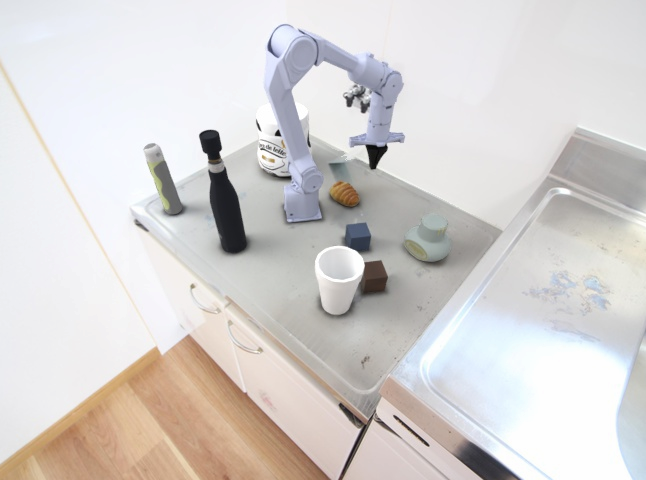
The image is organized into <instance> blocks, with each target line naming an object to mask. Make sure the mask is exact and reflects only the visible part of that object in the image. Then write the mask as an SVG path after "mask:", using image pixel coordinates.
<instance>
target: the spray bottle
mask: <svg viewBox="0 0 646 480" xmlns="http://www.w3.org/2000/svg"><path fill="white" fill-rule="evenodd" d="M142 149H143V150H142V151H143V153H144V157H145V161H146V164H147V167H148V169H149V173H150V175H151V176H152V178H153V181H154V185H155V188H156V191H157V193H158V196H159V199H160V200H161V203H162V207H163V209H164V211H165V213H166V214H168V215H176V214H179V213H180V212H181V211H182V210H183V204H182V201H181V199H180V196H179V193H178V189H177V188H176V185H175V182H174V179H173V177H172V175H171V170H170V168H169V166H168V163H167V161H166V158H165V156H164V153H163V151H162V148H161V146H160V145H159V144H158V143H155V142H150V143H147V145H145V146H144V147H143V148H142Z"/></svg>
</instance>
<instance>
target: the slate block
mask: <svg viewBox="0 0 646 480" xmlns="http://www.w3.org/2000/svg"><path fill="white" fill-rule="evenodd" d="M345 225H346V226H345V234H344V235H345V236H344V240H345V243H346V247H348V248H350V249H353V250H355V251H357V252H358V253H359V252H366V251H370V246H371V240H372V234H371V231H370V228H369V227H368V224H367V222H366V221H365V222H357V223H347V224H345Z"/></svg>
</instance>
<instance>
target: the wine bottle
mask: <svg viewBox="0 0 646 480" xmlns="http://www.w3.org/2000/svg"><path fill="white" fill-rule="evenodd" d="M198 138H199V143H200V146H201V150H202V152H203V154H206V155H207V167H208V169H207V173H208V176H209V180H210V184H209V192H208V193H209V205H210V208H211V212H212V216H213V219H214V222H215V226H216V230H217V234H218V237H219V241H220V245H221V247H222V248H221V249H222V250H223V251H224V252H225V253H228V254H238V253H241V252H242V251H244V250H245V249H246V247H247V245H248V241H247V235H246V230H245V225H244V219H243V214H242V209H241V204H240V199H239V195H238V193H237V191H236V188H235V187H234V185H233V183H232V181H230V179H229V176H228V175H229V174H228V170H227V167H226V165H225V162H224V159H223V158H222V156H221V153H220V152H221V151H222V150H223V145H222V140H221V136H220V132H219V131H218V130H216V129H204V130H203V131H201V132H199V134H198Z"/></svg>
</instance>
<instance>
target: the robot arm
mask: <svg viewBox="0 0 646 480" xmlns="http://www.w3.org/2000/svg"><path fill="white" fill-rule="evenodd" d="M264 47H265V48H264V49H265V55H266V56H265V65H264V66H265V67H264V75H263V89H264V91H265V94H266V97H267V99H268V102H269V103H270V105H271V108H272V111H273V114H274V117H275V119H276V122H277V125H278V128H279V131H280V133H281V136H282V139H283V142H284V145H285V147H286V150H287V153H288V155H287V156H286V157H287V160H288V164H287V171H288V173H289V174H290V175H291V176H290V177H291V182H290V183H289V184H286V185H283V199H284V204H283V208H284V209H283V210H284V212H285V215H286V221H287V223H298V222H306V221H307V222H308V221H316V220H321V219H322V218H323V217H322V213H321V210H320V206H319V202H320V201H319V200H320V199H319V195H320V193H319V192H320V189H321V188H322V186H323V184H324V181H325V178H324V174H323V173H322V172H321V171H320V170H319V169H318V166H317V164H316V162H315V161H314V158H313V156H312V157H311V155H310V152H309V149H308V146H307V142H306V139H305V135H304V132H303V129H302V125H301V122H300V119H299V115H298V112H297V108H296V105H295V102H296V101H295V99H294V95H293V89H294V87H295V86H296V85H297V84H298V83H299V82H300V81H301V80H302V79H303V78H304V77H305V76H306V75H307V74H308V72H310V70H311V69H312V68H313V67H314V66H315V67H319V66H320V65H321V64H322V63H323V62H325V63H327V64H330V65H332V66H334V67H337V68H339V69H341V70H343V71H345V72H347V77H348V79H349V81H351V82H353V83H355V84H357V85H360V86H362V87H364V88H366V89H368V90H370V91H371V95H370V96H371V97H370V103H369V111H368V117H367V118H368V119H367V127H366V132H364V133H362V134H358V135H355V136H349V137H348V146H349V148H351V149H352V148H355V147H358V146H365V149H366V152H367V158H368V167H369V169H370V170H373V171H374V170H376V169H377V167H378V166H379V164H380V161H381V159H382V158H383V157H384V155H385V154H386V153H387V152H388V150H389V146H388V144H390V143H391V144H392V143H399V144H404V143H405V139H406V135H405V133H404V132H392V131H390V130H391V125H392V119H393V114H394V109H395V108H394V107H395V104H396V103H397V101H398V97H399V95H400V93H401V92H402V90H403V88H404V85H405V83H404V82H403V76H402V73H400V71H398V70H396V69H394V68H393V67H390V66H389V63H388V62H386V61H385V60H382V61H380V60H378V59H376V58H375V54H374V53H372V52H370V51H368V50H367V51H366V52H364V51H359V52H357V53H356V54H351V53H350V52H348V51H347V50H345V49H344V48H341V47H340V46H338V45H337V44H334V43H333V42H331V41H329V40H328V39H326V38H324V37H322V36H321V35H319V34H316V33H313V32H312V31H308V30H306V29H303V28H300V27H297V28H295V27H294V26H293V25H292V24H289V23H280V24H277V25H276V26H275V27H274V28H273V29H272V31H271V32H270V34H269V37H268V38H267V41H266V43H265V45H264Z"/></svg>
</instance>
